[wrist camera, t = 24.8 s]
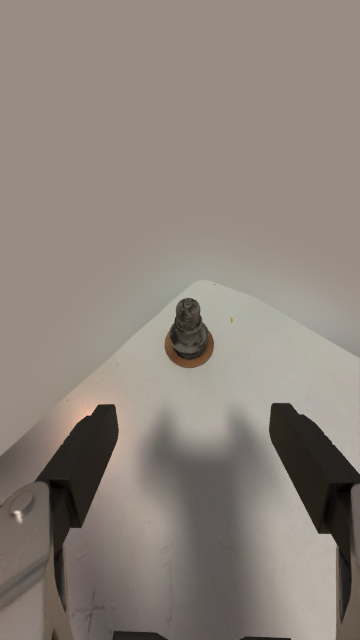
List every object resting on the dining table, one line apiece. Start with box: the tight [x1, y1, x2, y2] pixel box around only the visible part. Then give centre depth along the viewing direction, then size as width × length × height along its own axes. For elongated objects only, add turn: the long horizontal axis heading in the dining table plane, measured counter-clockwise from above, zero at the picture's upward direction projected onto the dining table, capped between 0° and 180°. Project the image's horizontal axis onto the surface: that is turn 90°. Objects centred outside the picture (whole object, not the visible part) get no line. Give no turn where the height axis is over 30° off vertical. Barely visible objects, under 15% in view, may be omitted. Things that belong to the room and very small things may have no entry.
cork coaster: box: [165, 331, 214, 368], centre depth 30 cm, size 8×8×1 cm
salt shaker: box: [169, 298, 209, 360], centre depth 25 cm, size 6×6×12 cm
